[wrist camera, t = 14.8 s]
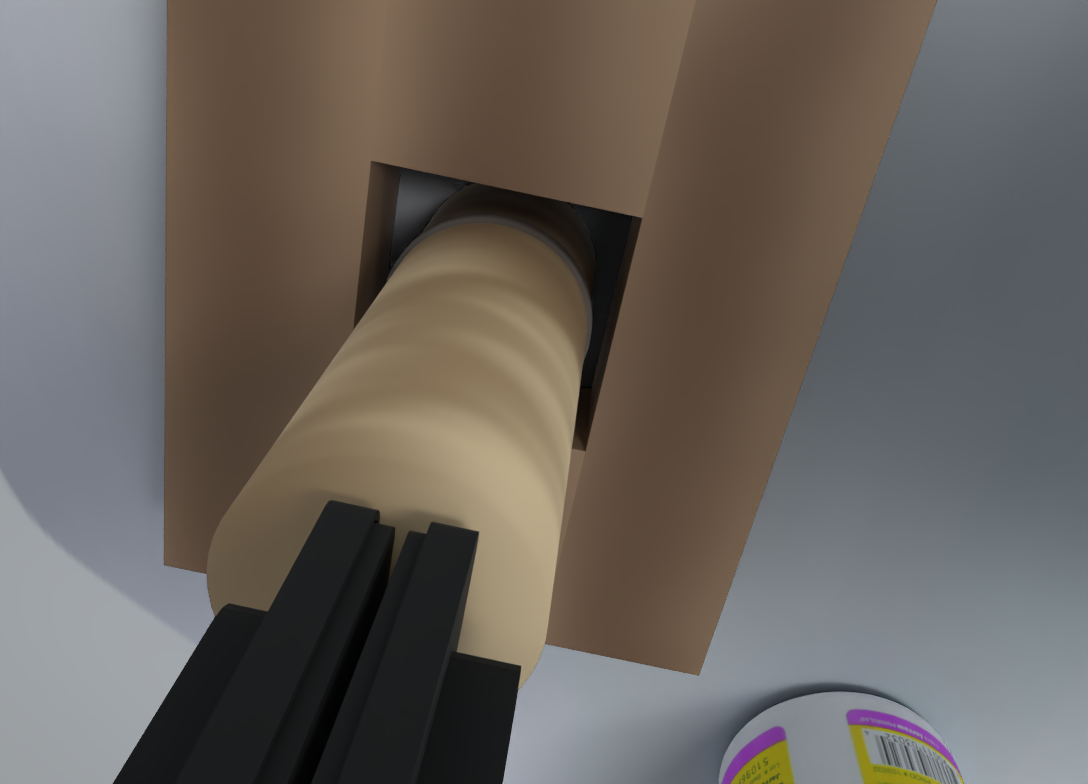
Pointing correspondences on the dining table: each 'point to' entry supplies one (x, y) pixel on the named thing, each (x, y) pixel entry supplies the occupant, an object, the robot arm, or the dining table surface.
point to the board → (548, 171)
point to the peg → (442, 417)
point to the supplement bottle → (838, 744)
